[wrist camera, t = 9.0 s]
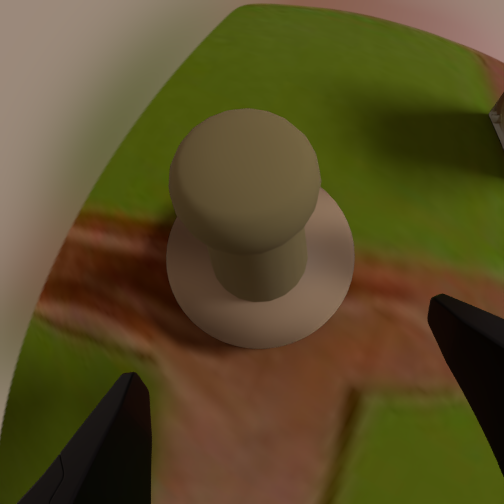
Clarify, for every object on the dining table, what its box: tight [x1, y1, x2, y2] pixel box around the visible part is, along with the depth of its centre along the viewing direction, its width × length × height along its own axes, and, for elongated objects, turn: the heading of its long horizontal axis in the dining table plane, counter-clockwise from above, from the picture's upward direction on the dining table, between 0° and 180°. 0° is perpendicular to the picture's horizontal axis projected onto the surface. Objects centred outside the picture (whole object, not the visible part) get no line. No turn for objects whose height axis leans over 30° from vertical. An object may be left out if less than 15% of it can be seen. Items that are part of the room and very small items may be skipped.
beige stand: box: [166, 187, 355, 349], centre depth 21 cm, size 12×12×3 cm
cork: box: [169, 108, 321, 302], centre depth 14 cm, size 6×6×11 cm
